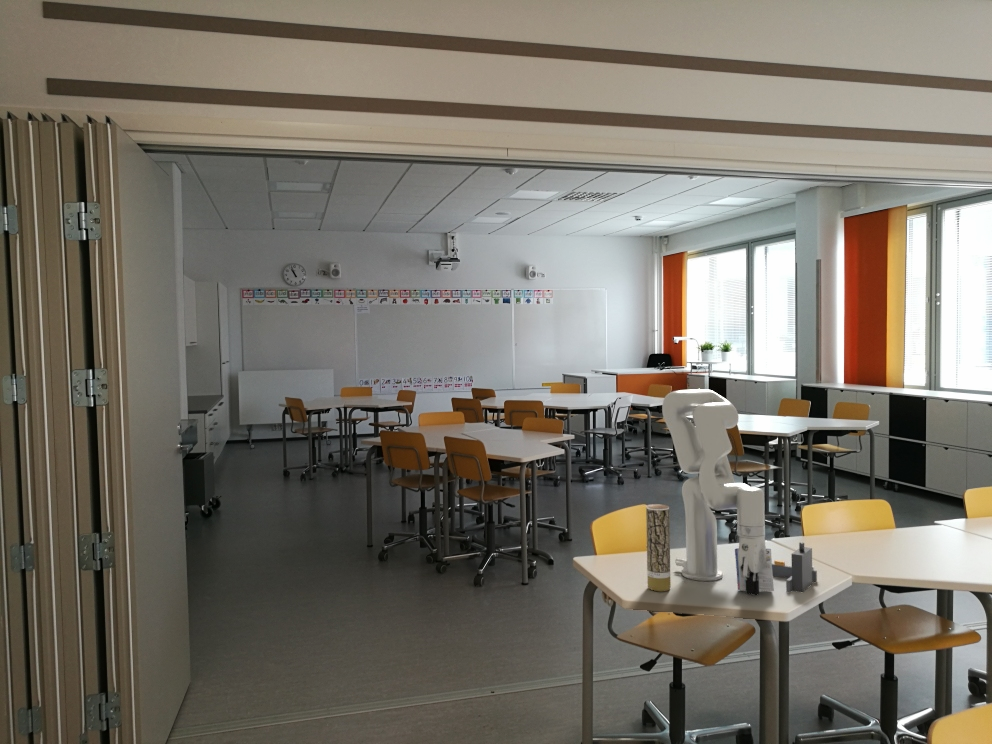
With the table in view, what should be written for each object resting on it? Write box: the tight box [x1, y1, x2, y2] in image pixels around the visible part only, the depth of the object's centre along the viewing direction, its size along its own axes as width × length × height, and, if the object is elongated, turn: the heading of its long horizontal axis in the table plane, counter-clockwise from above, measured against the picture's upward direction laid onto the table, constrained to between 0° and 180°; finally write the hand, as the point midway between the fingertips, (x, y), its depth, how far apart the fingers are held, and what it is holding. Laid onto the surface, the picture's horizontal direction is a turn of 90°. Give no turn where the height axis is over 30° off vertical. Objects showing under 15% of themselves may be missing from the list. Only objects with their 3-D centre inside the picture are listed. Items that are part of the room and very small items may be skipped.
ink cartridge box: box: [734, 547, 775, 592], centre depth 212 cm, size 10×6×14 cm, turn 82°
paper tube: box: [645, 503, 671, 592], centre depth 216 cm, size 7×7×25 cm
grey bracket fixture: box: [772, 541, 818, 593], centre depth 219 cm, size 18×15×13 cm
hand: (752, 593), depth 206 cm, fingers closed
